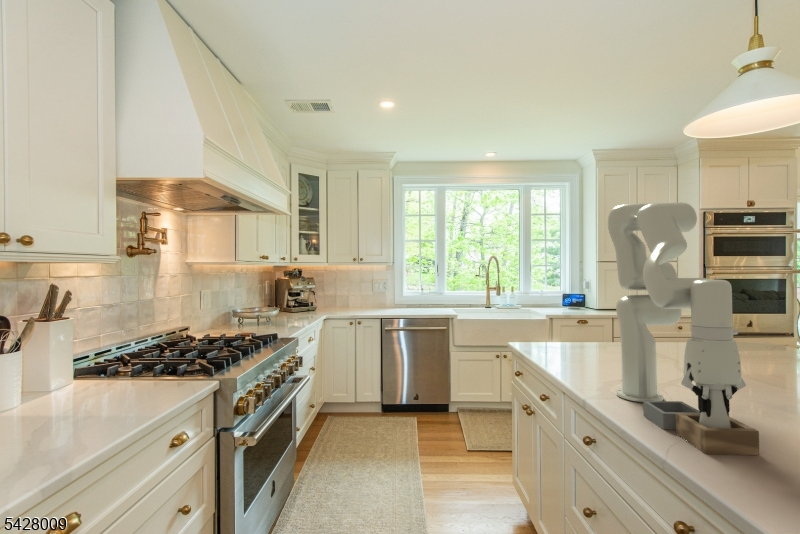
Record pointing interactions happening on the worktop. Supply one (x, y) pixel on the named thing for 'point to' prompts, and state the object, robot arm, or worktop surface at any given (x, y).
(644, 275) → the robot arm
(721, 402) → the salt shaker
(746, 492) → the worktop surface
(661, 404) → the grey open tray
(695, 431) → the brown wooden open box
